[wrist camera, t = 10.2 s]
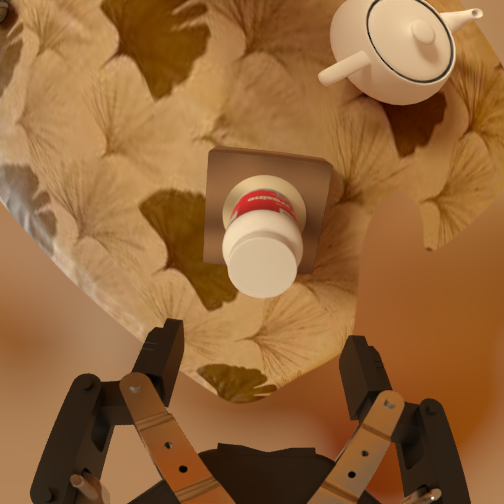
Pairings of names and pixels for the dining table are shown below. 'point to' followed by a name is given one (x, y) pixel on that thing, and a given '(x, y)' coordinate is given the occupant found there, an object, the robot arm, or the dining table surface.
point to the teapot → (394, 48)
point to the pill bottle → (262, 243)
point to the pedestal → (265, 176)
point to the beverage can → (3, 9)
